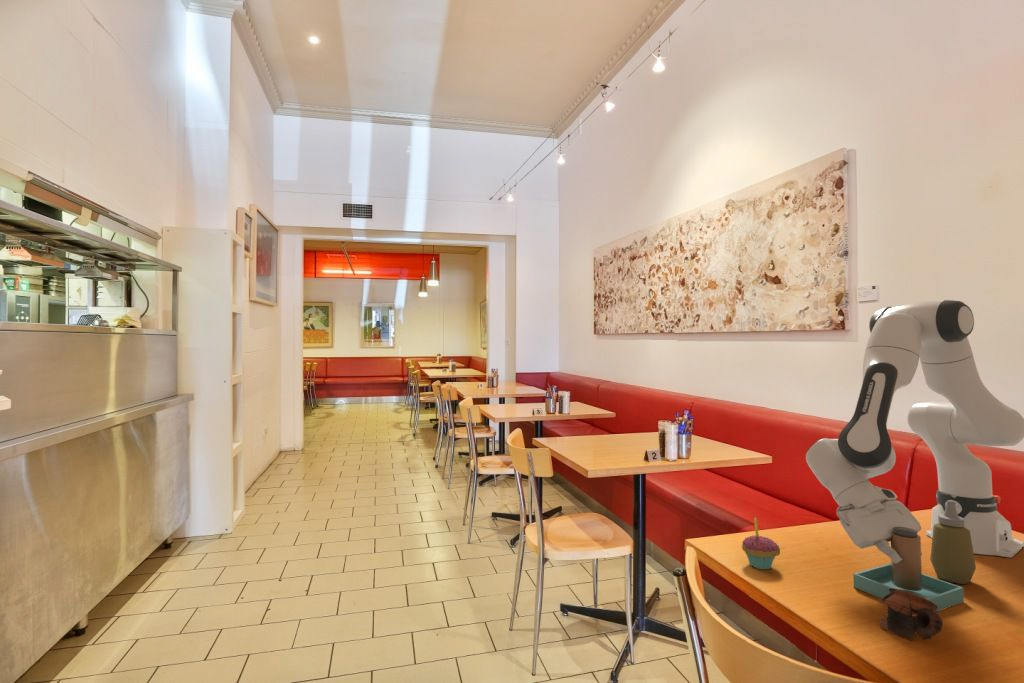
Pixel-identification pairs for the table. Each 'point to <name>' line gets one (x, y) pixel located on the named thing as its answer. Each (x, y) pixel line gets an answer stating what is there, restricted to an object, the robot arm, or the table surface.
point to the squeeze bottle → (952, 548)
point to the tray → (932, 590)
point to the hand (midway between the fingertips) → (909, 559)
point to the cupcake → (760, 550)
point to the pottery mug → (910, 615)
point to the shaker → (907, 559)
